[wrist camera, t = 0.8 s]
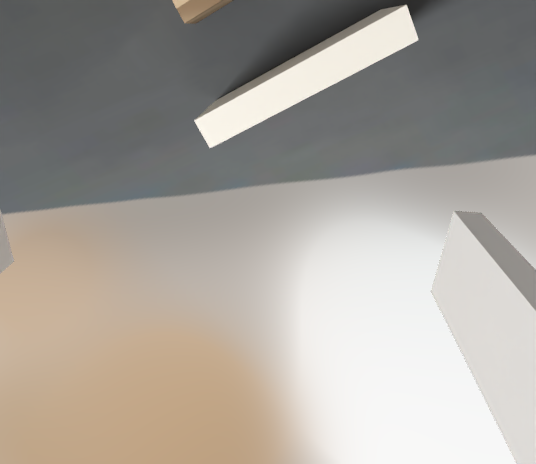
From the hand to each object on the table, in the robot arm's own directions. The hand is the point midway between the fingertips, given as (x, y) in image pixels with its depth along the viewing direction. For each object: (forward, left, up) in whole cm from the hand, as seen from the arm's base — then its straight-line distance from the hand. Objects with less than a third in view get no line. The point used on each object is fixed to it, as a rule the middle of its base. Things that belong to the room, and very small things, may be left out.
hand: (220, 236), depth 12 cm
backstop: (-1, +3, -24) cm, 24 cm away
